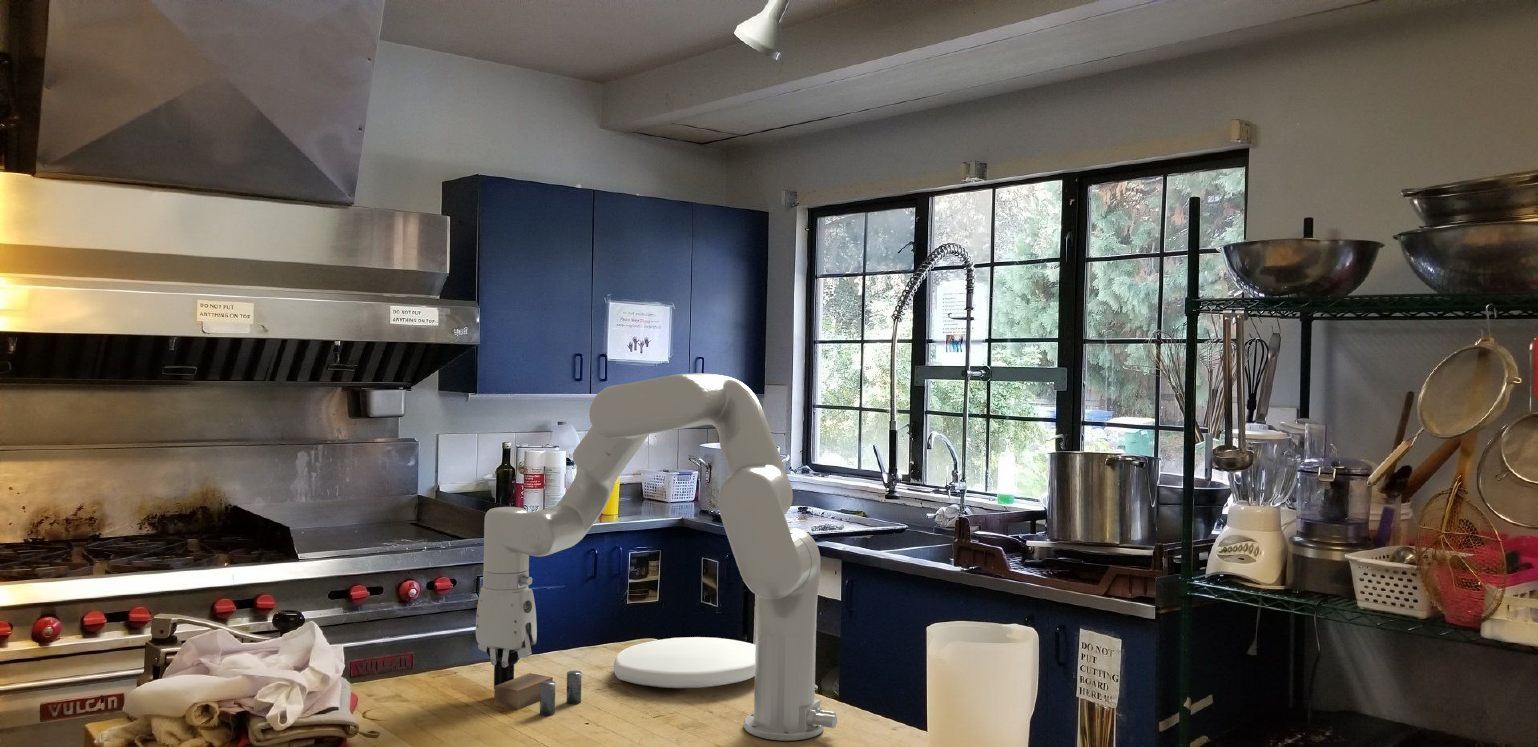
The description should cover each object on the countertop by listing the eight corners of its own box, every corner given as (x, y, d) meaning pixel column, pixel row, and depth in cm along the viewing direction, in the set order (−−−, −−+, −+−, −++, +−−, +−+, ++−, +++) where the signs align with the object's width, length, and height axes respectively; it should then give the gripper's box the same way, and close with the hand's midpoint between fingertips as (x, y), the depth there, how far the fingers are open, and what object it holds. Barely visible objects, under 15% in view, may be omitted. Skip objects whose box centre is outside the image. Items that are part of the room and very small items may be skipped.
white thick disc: (590, 664, 191) (641, 630, 217) (593, 701, 191) (643, 663, 217) (746, 659, 185) (778, 625, 211) (749, 698, 185) (781, 658, 211)
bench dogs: (583, 701, 185) (584, 671, 185) (548, 716, 177) (549, 685, 177) (572, 699, 186) (572, 669, 186) (536, 714, 178) (537, 683, 178)
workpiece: (552, 697, 188) (552, 677, 188) (517, 711, 180) (518, 690, 180) (529, 692, 190) (529, 672, 190) (494, 706, 182) (494, 685, 182)
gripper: (554, 581, 187) (552, 689, 187) (487, 572, 193) (485, 676, 194) (526, 589, 180) (523, 700, 180) (457, 579, 187) (454, 686, 187)
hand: (503, 687), depth 187 cm, fingers closed
